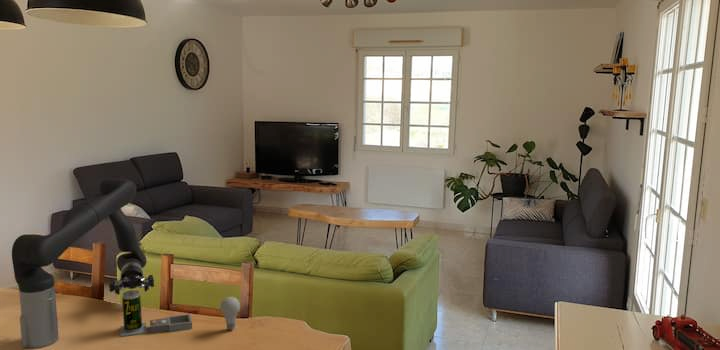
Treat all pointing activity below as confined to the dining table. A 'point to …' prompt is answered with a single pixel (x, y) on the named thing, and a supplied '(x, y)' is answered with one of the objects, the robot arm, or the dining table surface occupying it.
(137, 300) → the beer can
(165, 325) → the grey button tray
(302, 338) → the dining table surface
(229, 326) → the lightbulb
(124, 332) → the slate mat
